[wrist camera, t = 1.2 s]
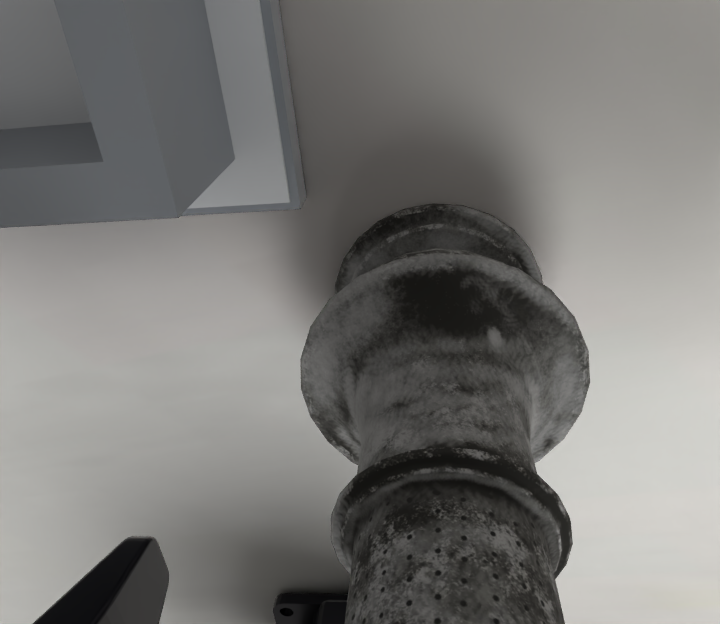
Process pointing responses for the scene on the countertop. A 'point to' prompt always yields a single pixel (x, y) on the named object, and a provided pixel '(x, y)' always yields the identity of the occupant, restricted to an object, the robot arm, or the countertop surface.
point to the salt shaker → (446, 420)
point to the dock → (144, 111)
